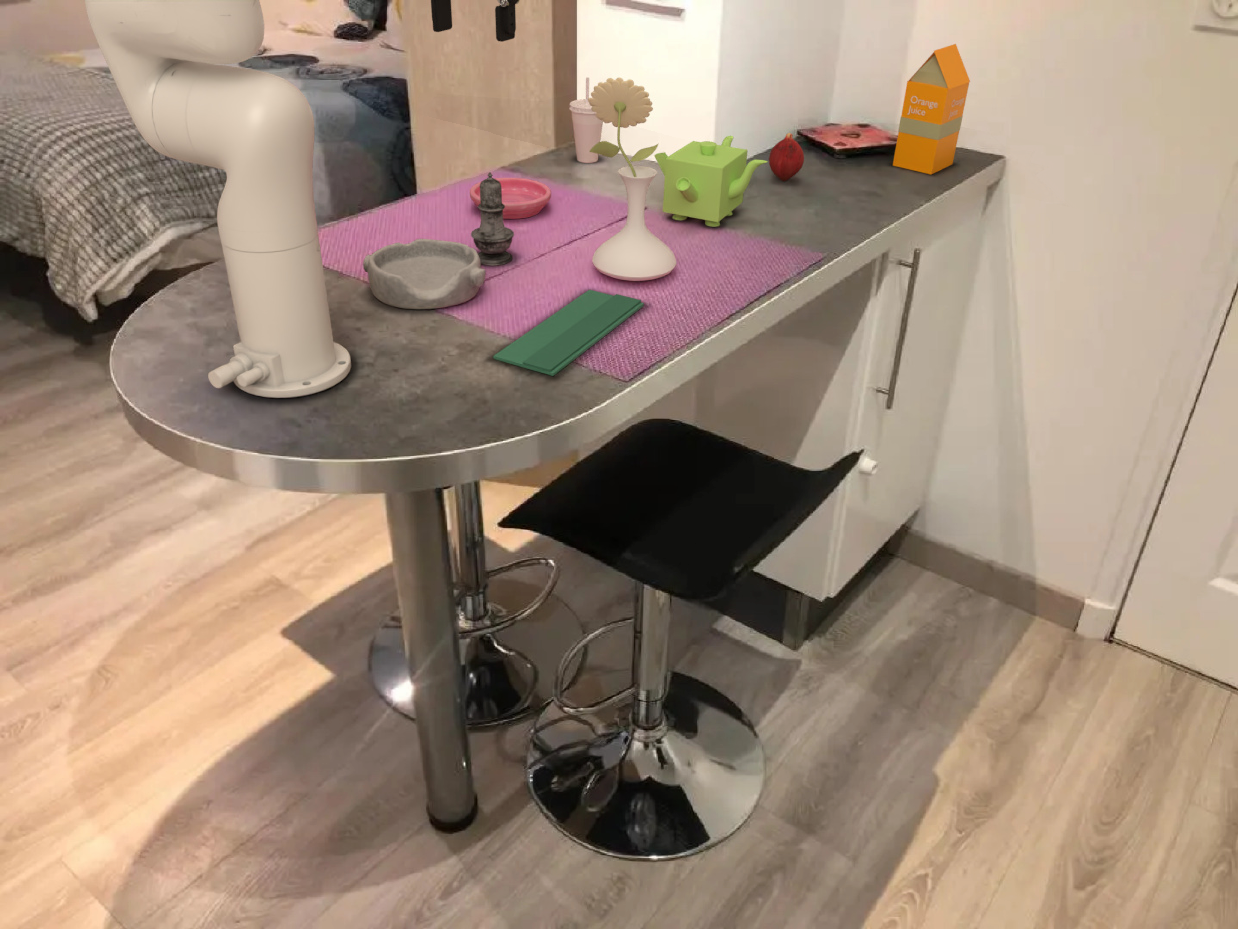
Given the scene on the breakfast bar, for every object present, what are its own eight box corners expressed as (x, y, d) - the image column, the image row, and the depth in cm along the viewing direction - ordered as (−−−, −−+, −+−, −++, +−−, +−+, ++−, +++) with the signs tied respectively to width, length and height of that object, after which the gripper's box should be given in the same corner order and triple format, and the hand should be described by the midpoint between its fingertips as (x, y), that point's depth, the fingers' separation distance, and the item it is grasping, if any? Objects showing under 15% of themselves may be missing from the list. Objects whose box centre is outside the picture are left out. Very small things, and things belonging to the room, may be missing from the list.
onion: (803, 187, 171) (809, 138, 167) (768, 185, 171) (774, 137, 167) (798, 176, 176) (804, 129, 172) (765, 175, 176) (770, 128, 171)
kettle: (726, 196, 166) (732, 126, 160) (767, 226, 155) (776, 152, 149) (641, 204, 161) (644, 133, 155) (677, 236, 150) (682, 160, 144)
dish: (500, 300, 129) (498, 262, 127) (398, 324, 123) (394, 285, 120) (449, 262, 139) (446, 227, 137) (352, 283, 133) (348, 246, 130)
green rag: (553, 376, 113) (553, 370, 112) (493, 358, 116) (493, 353, 116) (643, 305, 129) (644, 300, 129) (589, 292, 132) (589, 287, 132)
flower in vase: (689, 266, 140) (702, 77, 127) (652, 295, 132) (662, 96, 118) (606, 248, 145) (610, 64, 132) (565, 274, 137) (565, 81, 123)
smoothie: (566, 163, 178) (565, 80, 171) (573, 153, 184) (573, 71, 176) (601, 166, 178) (603, 82, 170) (608, 155, 183) (610, 74, 175)
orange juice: (891, 165, 183) (912, 47, 172) (914, 155, 189) (935, 40, 178) (932, 174, 179) (955, 54, 168) (953, 164, 184) (978, 46, 173)
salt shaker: (507, 268, 138) (504, 180, 132) (466, 263, 139) (461, 176, 132) (519, 252, 143) (517, 167, 136) (479, 248, 144) (475, 163, 137)
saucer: (561, 200, 162) (561, 181, 160) (536, 227, 152) (536, 206, 150) (487, 192, 164) (486, 173, 162) (458, 217, 154) (457, 197, 152)
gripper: (387, -126, 119) (400, 31, 129) (509, -116, 112) (514, 48, 122) (427, -128, 125) (437, 22, 134) (546, -119, 118) (548, 38, 127)
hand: (473, 34), depth 128 cm, fingers open, 9 cm apart
